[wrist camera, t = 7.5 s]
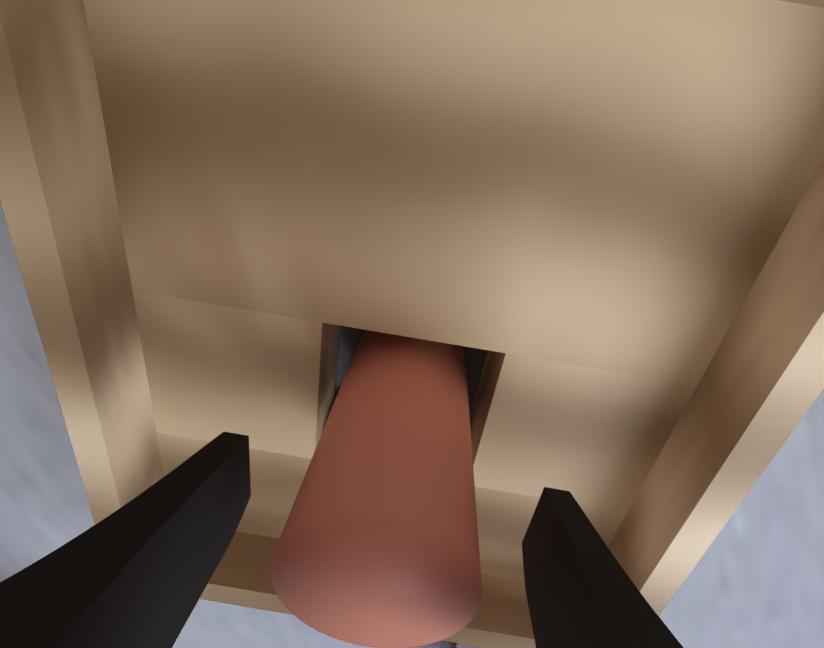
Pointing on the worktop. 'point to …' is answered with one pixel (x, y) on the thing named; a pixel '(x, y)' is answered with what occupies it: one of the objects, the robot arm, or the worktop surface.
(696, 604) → the worktop surface
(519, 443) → the box
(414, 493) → the peg
